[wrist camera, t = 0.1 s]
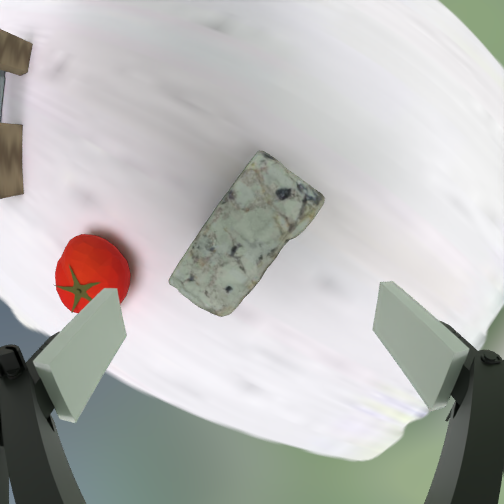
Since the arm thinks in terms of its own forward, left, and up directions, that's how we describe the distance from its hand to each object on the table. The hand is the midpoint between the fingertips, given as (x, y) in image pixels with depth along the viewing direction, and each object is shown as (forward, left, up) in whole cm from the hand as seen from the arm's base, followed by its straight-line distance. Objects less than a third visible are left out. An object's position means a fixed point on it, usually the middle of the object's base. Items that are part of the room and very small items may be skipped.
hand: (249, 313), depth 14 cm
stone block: (-1, 0, -28) cm, 28 cm away
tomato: (+7, -21, -28) cm, 36 cm away
